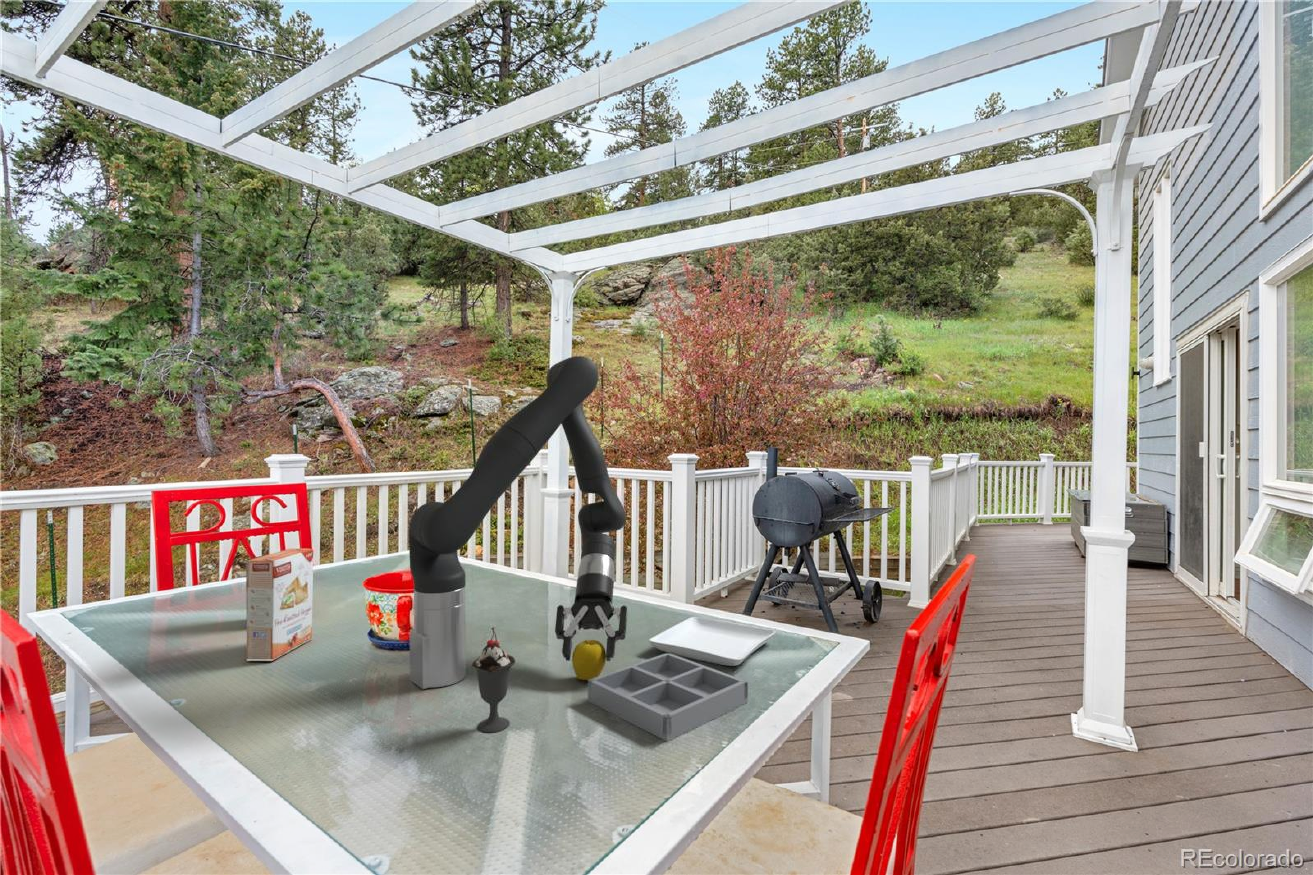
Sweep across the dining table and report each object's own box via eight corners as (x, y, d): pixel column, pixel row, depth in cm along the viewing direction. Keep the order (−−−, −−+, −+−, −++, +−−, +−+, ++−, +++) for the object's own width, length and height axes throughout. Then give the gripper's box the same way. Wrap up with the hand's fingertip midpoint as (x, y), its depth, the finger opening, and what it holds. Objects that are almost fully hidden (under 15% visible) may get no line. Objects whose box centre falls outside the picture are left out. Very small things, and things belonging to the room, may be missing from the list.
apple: (574, 688, 111) (574, 644, 111) (569, 675, 117) (569, 633, 117) (609, 684, 113) (609, 641, 112) (602, 671, 119) (602, 630, 119)
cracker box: (274, 663, 123) (274, 560, 123) (245, 663, 123) (244, 559, 123) (314, 640, 137) (314, 547, 137) (288, 640, 137) (288, 547, 137)
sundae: (498, 712, 101) (498, 621, 101) (523, 724, 97) (523, 629, 97) (463, 726, 96) (463, 631, 96) (488, 740, 92) (488, 640, 92)
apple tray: (667, 741, 91) (667, 717, 91) (588, 700, 105) (587, 680, 105) (747, 702, 105) (747, 681, 105) (667, 670, 119) (667, 652, 119)
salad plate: (777, 644, 136) (777, 628, 136) (740, 676, 117) (740, 658, 117) (692, 629, 146) (692, 614, 146) (646, 656, 128) (646, 640, 128)
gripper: (558, 571, 122) (546, 649, 111) (629, 571, 122) (625, 650, 110) (562, 590, 128) (552, 667, 116) (631, 591, 127) (627, 668, 116)
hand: (587, 658), depth 113 cm, fingers open, 7 cm apart
